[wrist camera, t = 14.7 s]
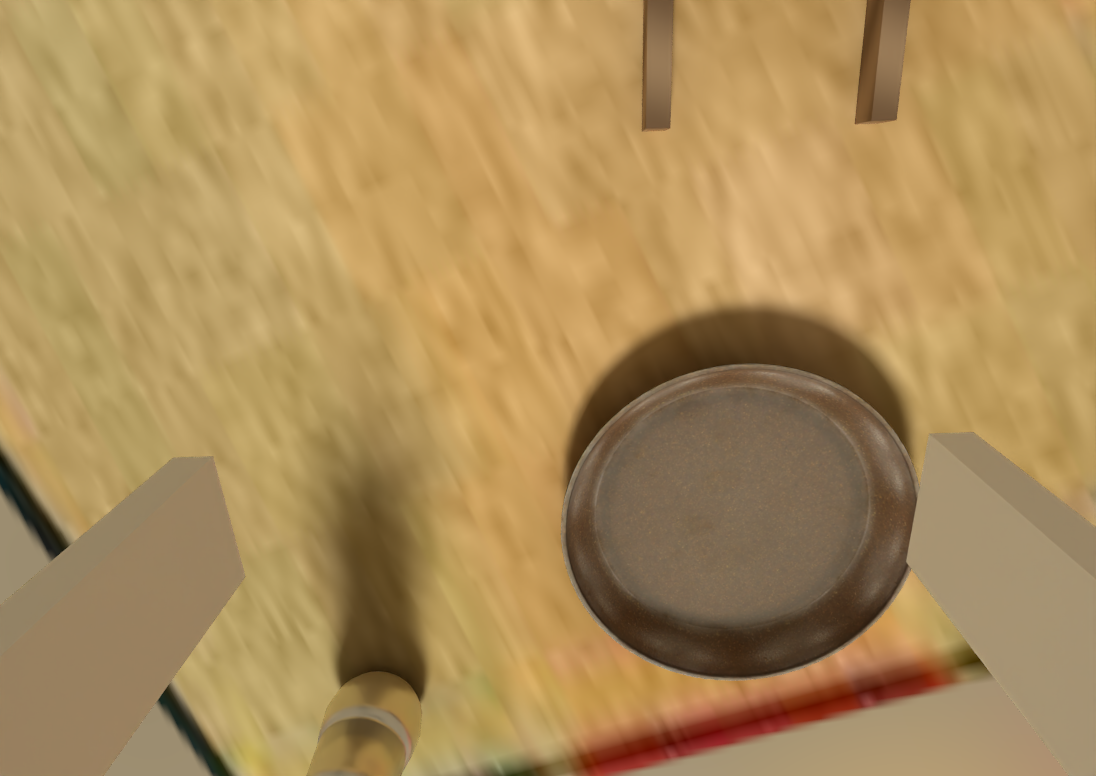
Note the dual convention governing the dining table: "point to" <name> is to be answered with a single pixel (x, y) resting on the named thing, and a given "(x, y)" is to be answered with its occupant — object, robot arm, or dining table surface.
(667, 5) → the brown u-shaped frame
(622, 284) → the dining table surface
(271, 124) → the dining table surface
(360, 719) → the plastic bottle
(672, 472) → the plant saucer
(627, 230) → the dining table surface
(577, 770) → the dining table surface
